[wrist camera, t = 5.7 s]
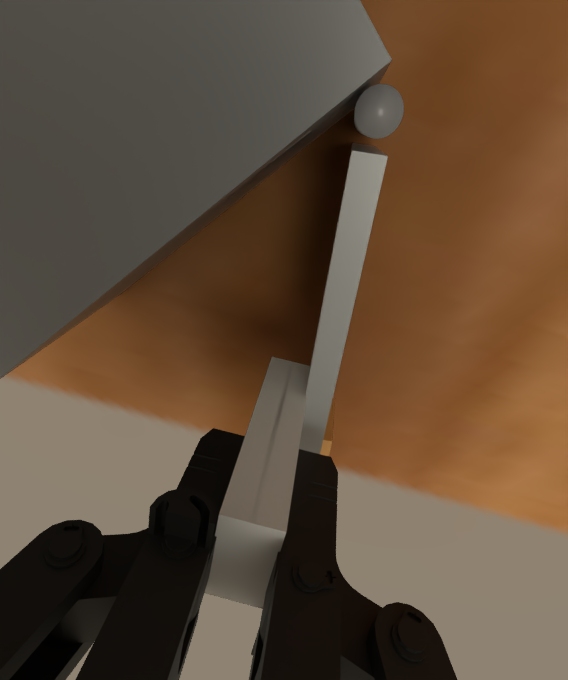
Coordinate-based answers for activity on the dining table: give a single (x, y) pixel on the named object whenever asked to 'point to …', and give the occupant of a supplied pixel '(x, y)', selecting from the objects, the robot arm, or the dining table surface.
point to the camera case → (155, 133)
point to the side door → (341, 292)
